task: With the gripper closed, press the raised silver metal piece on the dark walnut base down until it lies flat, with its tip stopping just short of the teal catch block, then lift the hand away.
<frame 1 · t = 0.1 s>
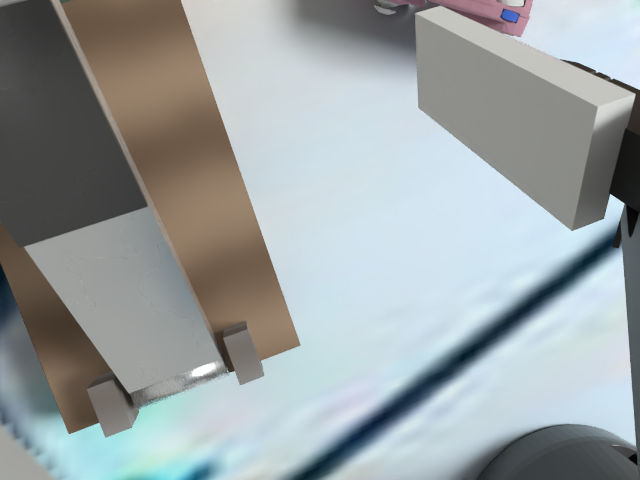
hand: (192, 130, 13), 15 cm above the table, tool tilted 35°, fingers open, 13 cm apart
silver metal piece: (107, 251, 19), point 9 cm above the table, hinge at 35.0°
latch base: (124, 184, 28), on the table
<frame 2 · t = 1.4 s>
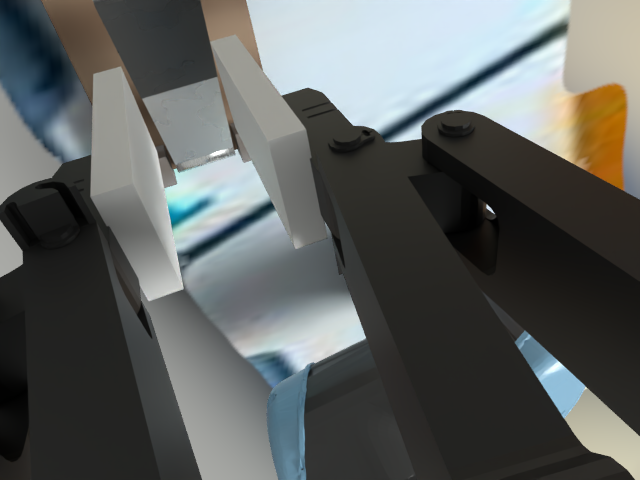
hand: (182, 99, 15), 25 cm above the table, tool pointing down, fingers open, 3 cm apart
silver metal piece: (182, 93, 30), point 9 cm above the table, hinge at 35.0°
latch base: (150, 2, 35), on the table
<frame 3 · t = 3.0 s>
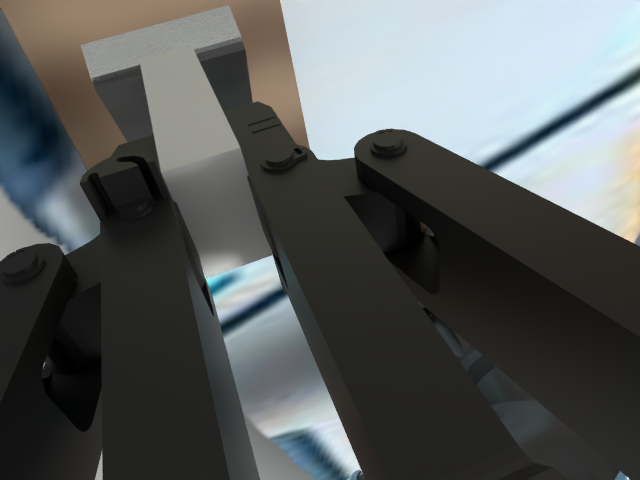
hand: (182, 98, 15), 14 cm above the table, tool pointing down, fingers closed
silver metal piece: (211, 177, 23), point 9 cm above the table, hinge at 33.6°, touching gripper
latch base: (168, 53, 28), on the table
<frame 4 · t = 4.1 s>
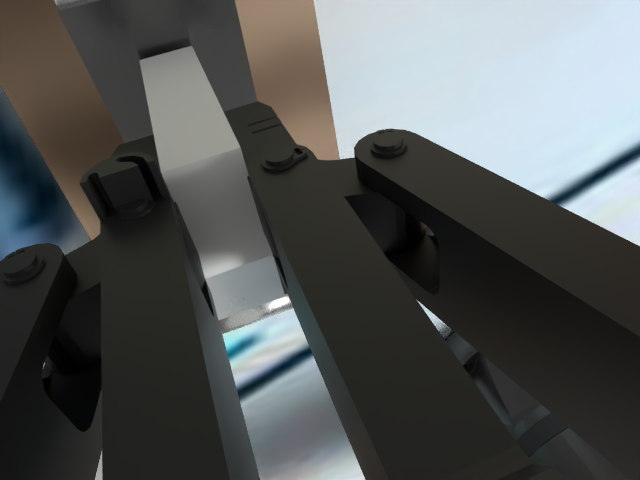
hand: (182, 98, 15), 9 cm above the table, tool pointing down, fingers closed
silver metal piece: (220, 200, 20), point 6 cm above the table, hinge at 13.3°, touching gripper
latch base: (186, 101, 24), on the table
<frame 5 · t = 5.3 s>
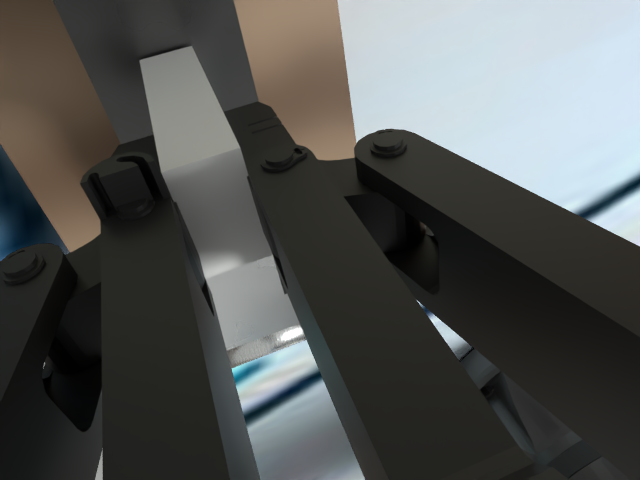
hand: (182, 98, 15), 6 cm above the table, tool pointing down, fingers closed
silver metal piece: (220, 202, 19), point 4 cm above the table, hinge at 2.2°, touching gripper
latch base: (189, 113, 21), on the table
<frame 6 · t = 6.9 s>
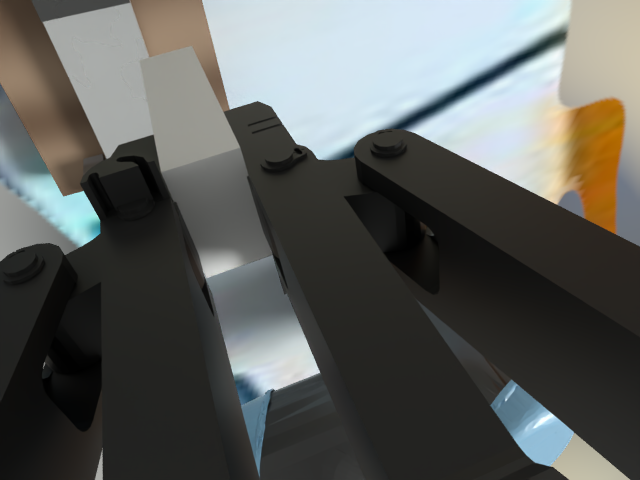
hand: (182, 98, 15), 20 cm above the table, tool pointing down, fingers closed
silver metal piece: (100, 41, 28), point 4 cm above the table, hinge at 2.1°
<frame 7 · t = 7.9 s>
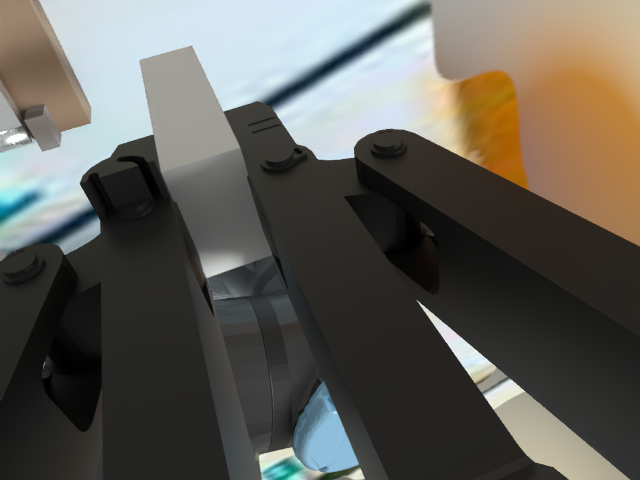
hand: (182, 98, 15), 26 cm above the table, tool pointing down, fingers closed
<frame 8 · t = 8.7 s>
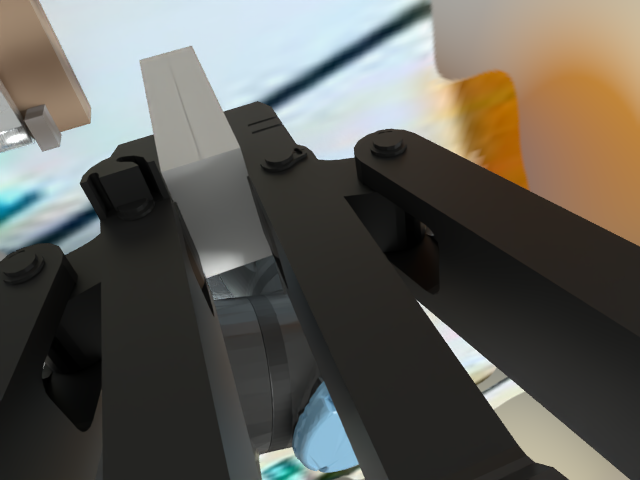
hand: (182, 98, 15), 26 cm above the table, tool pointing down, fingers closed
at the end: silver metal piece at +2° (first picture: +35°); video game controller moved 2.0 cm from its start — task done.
